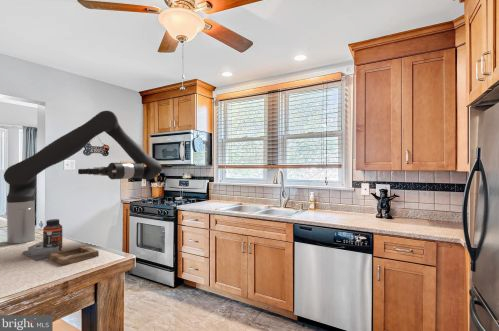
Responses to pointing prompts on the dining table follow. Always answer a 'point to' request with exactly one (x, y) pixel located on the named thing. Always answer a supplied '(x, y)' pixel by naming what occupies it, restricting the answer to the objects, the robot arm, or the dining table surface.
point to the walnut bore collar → (84, 255)
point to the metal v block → (40, 251)
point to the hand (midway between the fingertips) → (83, 171)
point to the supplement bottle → (52, 233)
